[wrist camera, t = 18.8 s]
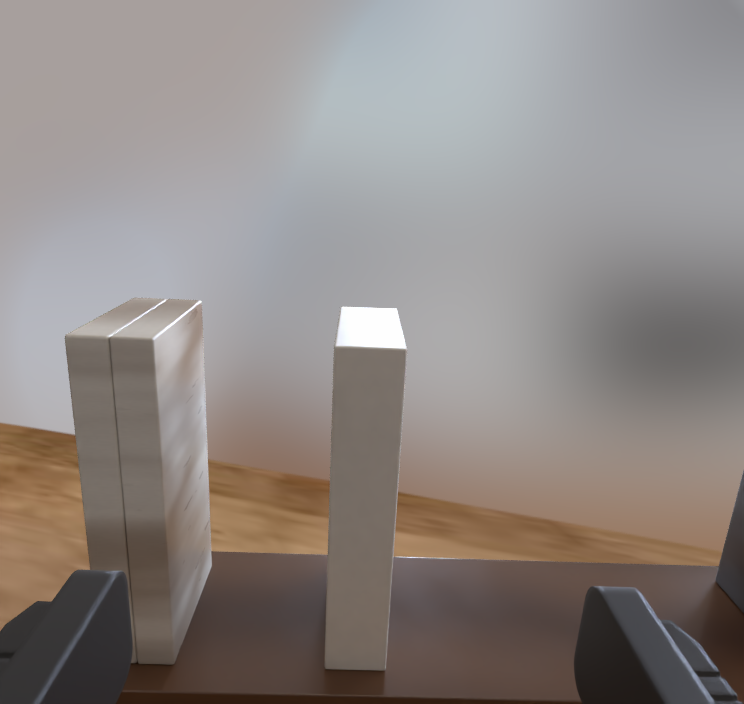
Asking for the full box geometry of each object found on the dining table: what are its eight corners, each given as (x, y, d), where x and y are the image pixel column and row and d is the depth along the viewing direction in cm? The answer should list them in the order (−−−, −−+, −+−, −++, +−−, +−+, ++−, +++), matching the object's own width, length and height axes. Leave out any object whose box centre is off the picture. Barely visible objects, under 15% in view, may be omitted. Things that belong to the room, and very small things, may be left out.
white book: (385, 671, 19) (407, 349, 16) (324, 669, 19) (334, 346, 16) (381, 571, 24) (397, 308, 21) (332, 570, 24) (340, 306, 21)
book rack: (918, 732, 19) (1063, 386, 15) (75, 715, 18) (26, 344, 15) (772, 586, 26) (850, 321, 22) (152, 569, 25) (132, 291, 21)
